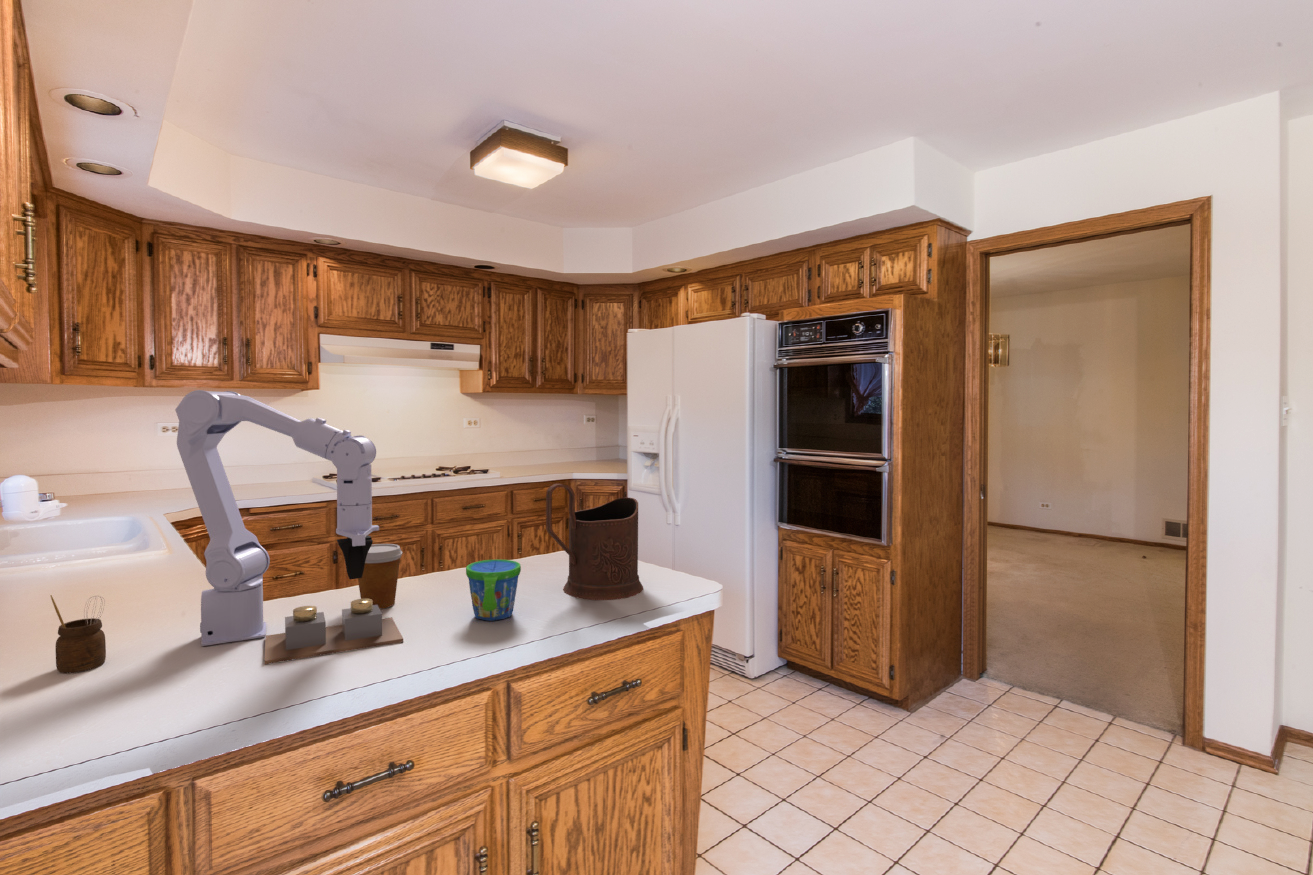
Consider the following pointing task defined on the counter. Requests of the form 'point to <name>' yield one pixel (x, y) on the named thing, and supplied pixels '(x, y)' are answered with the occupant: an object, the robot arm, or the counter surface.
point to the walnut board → (329, 643)
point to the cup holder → (600, 548)
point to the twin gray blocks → (315, 629)
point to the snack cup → (493, 588)
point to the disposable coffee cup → (381, 574)
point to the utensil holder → (80, 643)
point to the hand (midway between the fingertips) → (355, 577)
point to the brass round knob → (361, 606)
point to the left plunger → (305, 613)
